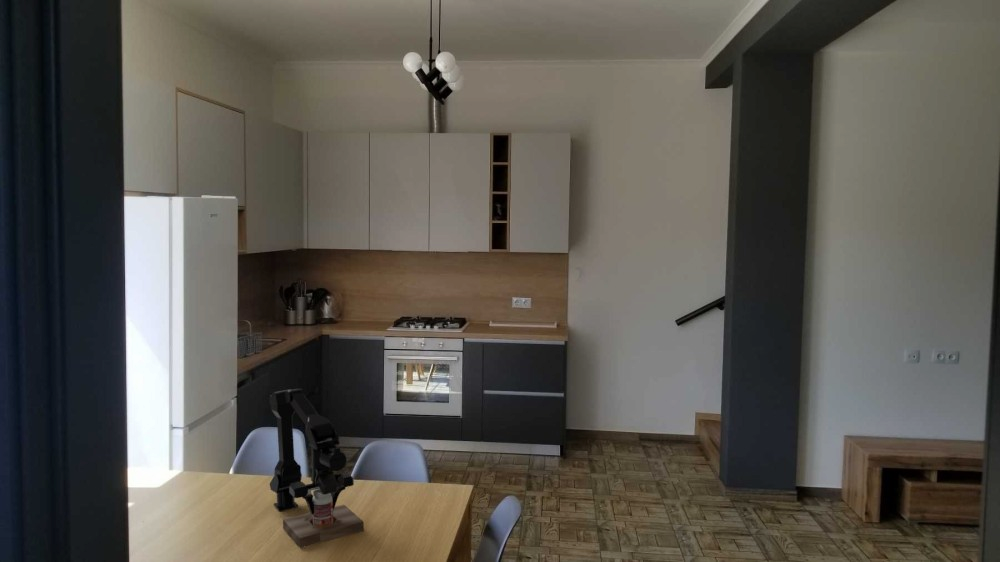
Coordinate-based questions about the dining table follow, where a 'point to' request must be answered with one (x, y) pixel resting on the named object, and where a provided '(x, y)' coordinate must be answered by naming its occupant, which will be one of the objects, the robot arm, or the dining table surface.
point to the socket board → (322, 527)
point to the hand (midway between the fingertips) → (322, 511)
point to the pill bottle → (322, 508)
